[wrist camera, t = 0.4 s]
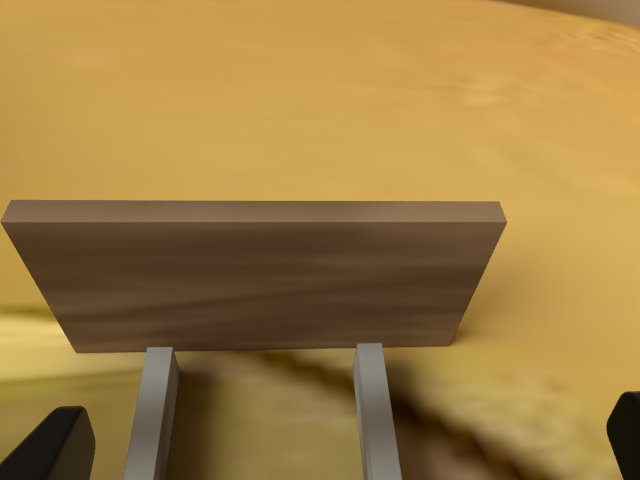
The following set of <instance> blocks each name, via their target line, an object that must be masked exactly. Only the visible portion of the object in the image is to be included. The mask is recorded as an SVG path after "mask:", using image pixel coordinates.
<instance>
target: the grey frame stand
mask: <svg viewBox="0 0 640 480" xmlns="http://www.w3.org/2000/svg"><path fill="white" fill-rule="evenodd" d="M506 223H507V220H506V218H505V215H504V213H503V210H502V208H501V205H500V203H499V202H453V201H126V200H11V201H10V203H9V205H8V207H7V210H6V212H5V214H4V216H3V218H2V220H1V224H2V225H3V227H4V229H5V231H6V232H7V234H8V236H9V238H10V239H11V241H12V243H13V245H14V246H15V248H16V250H17V251H18V253H19V255H20V257H21V258H22V260H23V262H24V264H25V265H26V267H27V269H28V271H29V272H30V274H31V276H32V278H33V279H34V281H35V283H36V284H37V286H38V288H39V290H40V291H41V293H42V295H43V297H44V298H45V300H46V302H47V304H48V305H49V307H50V309H51V310H52V312H53V314H54V316H55V317H56V319H57V321H58V323H59V324H60V326H61V328H62V330H63V331H64V333H65V335H66V336H67V338H68V340H69V342H70V343H71V345H72V347H73V349H74V350H75V352H76V353H101V352H146V357H145V362H144V368H143V373H142V379H141V384H140V390H139V395H138V401H137V406H136V411H135V417H134V422H133V428H132V433H131V439H130V444H129V450H128V455H127V461H126V466H125V472H124V477H123V480H166V474H167V466H168V459H169V451H170V443H171V436H172V428H173V421H174V413H175V406H176V398H177V390H178V383H179V375H180V370H179V367H178V363H177V360H176V357H175V353H174V351H208V350H261V349H315V348H357V349H356V354H355V359H354V363H353V377H354V387H355V396H356V406H357V416H358V425H359V435H360V445H361V454H362V464H363V474H364V480H402V477H401V470H400V463H399V457H398V450H397V443H396V436H395V430H394V423H393V416H392V409H391V403H390V396H389V389H388V382H387V376H386V369H385V362H384V355H383V349H382V347H422V346H449V345H450V343H451V341H452V339H453V337H454V334H455V332H456V330H457V328H458V326H459V324H460V322H461V319H462V317H463V315H464V313H465V311H466V309H467V307H468V305H469V302H470V300H471V298H472V296H473V294H474V292H475V290H476V287H477V285H478V283H479V281H480V279H481V277H482V275H483V273H484V270H485V268H486V266H487V264H488V262H489V260H490V258H491V255H492V253H493V251H494V249H495V247H496V245H497V243H498V241H499V238H500V236H501V234H502V232H503V230H504V228H505V226H506Z"/></svg>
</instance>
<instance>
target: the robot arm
mask: <svg viewBox="0 0 640 480" xmlns="http://www.w3.org/2000/svg"><path fill="white" fill-rule="evenodd" d="M606 426H607V435H608V438H609V441H610V444H611V446H612V449H613V452H614V455H615V457H616V460H617V463H618V466H619V469H620V471H621V474H622V477H623V480H640V391H630V392H625V393H623V394H622V395H621V396H620V398H619V400H618V401H617V403H616V405H615V407H614V409H613V411H612V413H611V415H610V416H609V418H608V421H607V425H606ZM94 454H95V436H94V433H93V430H92V426H91V423H90V420H89V417H88V414H87V411H86V409H85V408H84V407H82V406H62V407H58V408H56V409H55V410H53V411H52V412H51V413H50V414H49V415H48V416H47V417H46V418H45V419H44V420H43V421H42V422H41V423H40V424H39V425H38V426H37V427H36V428H35V429H34V430H33V431H32V432H31V433H30V434H29V435H28V436H27V437H26V438H25V439H24V440H23V441H22V442H21V443H20V444H19V445H18V446H17V447H16V448H15V449H14V450H13V451H12V452H11V453H10V454H9V455H8V456H7V457H6V458H5V459H4V460H3V461H2V462H1V463H0V480H89V479H90V474H91V469H92V464H93V459H94Z"/></svg>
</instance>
